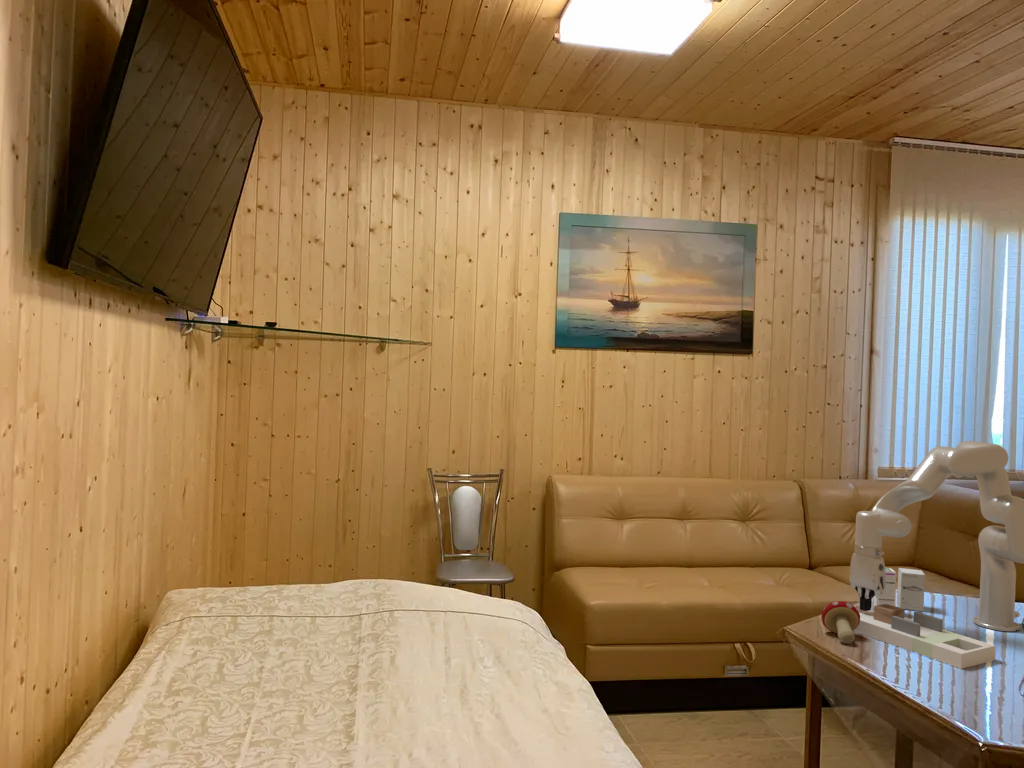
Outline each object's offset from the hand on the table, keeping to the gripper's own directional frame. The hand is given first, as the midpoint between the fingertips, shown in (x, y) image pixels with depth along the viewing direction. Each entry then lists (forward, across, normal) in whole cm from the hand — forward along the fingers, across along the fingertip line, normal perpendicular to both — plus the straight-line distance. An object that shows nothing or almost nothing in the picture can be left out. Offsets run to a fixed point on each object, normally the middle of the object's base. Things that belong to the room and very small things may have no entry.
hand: (865, 609), depth 241 cm
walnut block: (+1, -8, 0) cm, 8 cm away
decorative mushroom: (+5, -4, +17) cm, 18 cm away
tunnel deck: (+5, -17, 0) cm, 18 cm away
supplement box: (+5, +7, -33) cm, 34 cm away
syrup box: (+5, +7, -19) cm, 21 cm away
